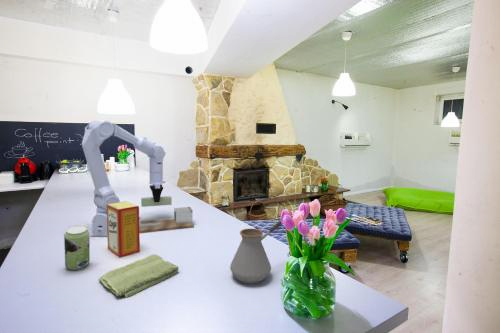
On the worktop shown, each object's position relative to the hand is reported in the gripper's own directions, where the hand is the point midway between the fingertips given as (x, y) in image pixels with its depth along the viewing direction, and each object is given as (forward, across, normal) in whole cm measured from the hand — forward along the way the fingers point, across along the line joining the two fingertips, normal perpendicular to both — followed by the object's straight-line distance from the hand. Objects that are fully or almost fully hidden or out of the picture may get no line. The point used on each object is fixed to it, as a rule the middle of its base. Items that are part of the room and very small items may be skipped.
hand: (156, 201), depth 123 cm
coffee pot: (+9, -62, -25) cm, 67 cm away
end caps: (+8, -10, -3) cm, 13 cm away
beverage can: (+9, -40, +25) cm, 48 cm away
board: (+9, -10, -3) cm, 14 cm away
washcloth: (+10, -53, +8) cm, 54 cm away
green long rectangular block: (+2, 0, 0) cm, 2 cm away
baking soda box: (+9, -32, +13) cm, 36 cm away
